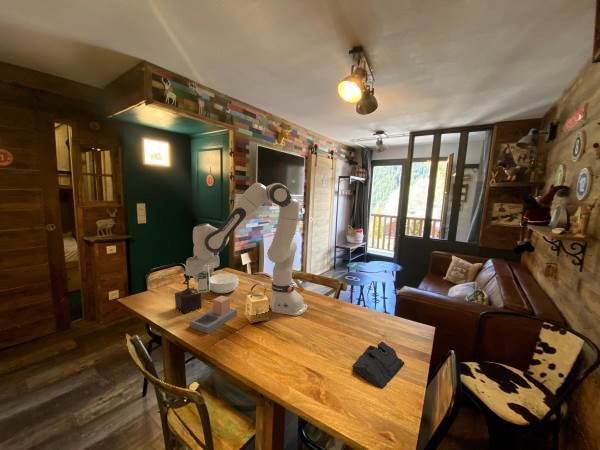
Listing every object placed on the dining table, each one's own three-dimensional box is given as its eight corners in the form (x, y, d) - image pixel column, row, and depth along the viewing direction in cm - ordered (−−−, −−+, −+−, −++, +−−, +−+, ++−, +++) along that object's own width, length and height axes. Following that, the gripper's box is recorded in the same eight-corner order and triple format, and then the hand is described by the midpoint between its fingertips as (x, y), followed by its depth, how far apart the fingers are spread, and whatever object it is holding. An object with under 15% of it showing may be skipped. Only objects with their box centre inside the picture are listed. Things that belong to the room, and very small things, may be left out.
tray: (219, 310, 136) (219, 293, 135) (236, 315, 131) (236, 297, 130) (189, 327, 118) (189, 307, 117) (208, 333, 113) (207, 313, 112)
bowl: (244, 289, 167) (244, 277, 166) (221, 299, 150) (221, 286, 149) (225, 283, 177) (224, 271, 176) (201, 291, 161) (201, 279, 160)
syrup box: (197, 293, 128) (196, 266, 127) (199, 289, 134) (198, 263, 132) (209, 292, 130) (208, 265, 128) (210, 288, 136) (209, 262, 134)
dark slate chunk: (344, 369, 94) (345, 358, 93) (372, 345, 110) (373, 335, 109) (382, 393, 83) (384, 380, 83) (407, 362, 99) (408, 351, 98)
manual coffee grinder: (203, 307, 139) (202, 277, 137) (184, 314, 130) (183, 282, 128) (189, 299, 148) (188, 271, 146) (170, 305, 139) (169, 275, 137)
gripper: (190, 259, 119) (191, 286, 121) (220, 250, 137) (221, 274, 139) (181, 257, 122) (183, 284, 123) (212, 249, 140) (213, 273, 142)
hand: (203, 279), depth 131 cm, fingers closed on syrup box, 8 cm apart
